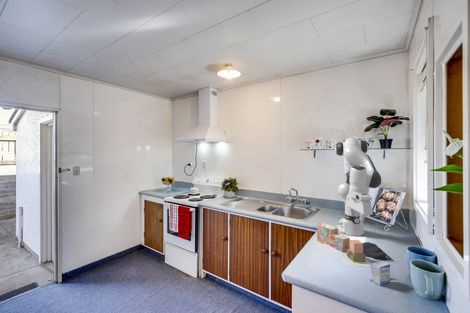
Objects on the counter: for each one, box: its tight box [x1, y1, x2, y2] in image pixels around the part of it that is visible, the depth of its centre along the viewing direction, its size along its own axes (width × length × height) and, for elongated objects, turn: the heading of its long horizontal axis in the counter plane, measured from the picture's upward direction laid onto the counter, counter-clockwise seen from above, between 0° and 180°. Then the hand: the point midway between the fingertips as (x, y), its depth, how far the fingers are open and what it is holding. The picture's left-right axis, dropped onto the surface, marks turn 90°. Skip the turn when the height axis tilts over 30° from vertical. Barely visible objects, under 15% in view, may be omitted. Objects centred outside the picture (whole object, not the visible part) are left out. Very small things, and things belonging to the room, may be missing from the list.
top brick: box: [349, 239, 364, 254], centre depth 126 cm, size 5×5×6 cm
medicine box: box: [370, 260, 391, 286], centre depth 106 cm, size 8×4×9 cm, turn 114°
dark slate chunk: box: [362, 241, 394, 262], centre depth 136 cm, size 15×22×5 cm
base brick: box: [346, 248, 367, 262], centre depth 126 cm, size 7×7×4 cm
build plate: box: [338, 251, 373, 267], centre depth 126 cm, size 16×12×1 cm
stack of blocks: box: [316, 222, 351, 252], centre depth 145 cm, size 21×6×12 cm, turn 23°
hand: (356, 218), depth 125 cm, fingers open, 8 cm apart
